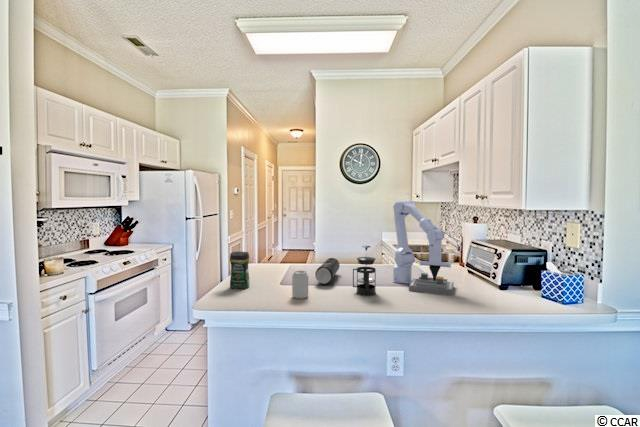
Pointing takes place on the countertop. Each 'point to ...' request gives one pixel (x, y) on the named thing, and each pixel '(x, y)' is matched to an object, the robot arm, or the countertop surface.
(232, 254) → the coffee jar
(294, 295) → the can
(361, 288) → the french press
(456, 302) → the countertop surface
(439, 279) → the breaker toggle
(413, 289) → the block
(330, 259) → the dark thermos flask
